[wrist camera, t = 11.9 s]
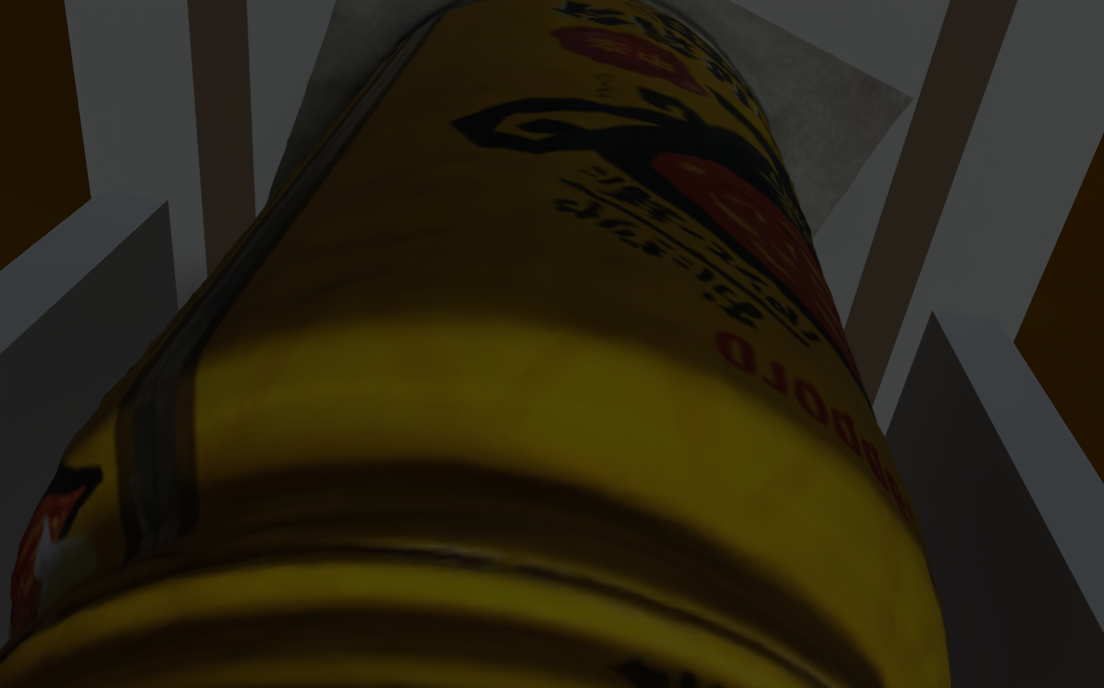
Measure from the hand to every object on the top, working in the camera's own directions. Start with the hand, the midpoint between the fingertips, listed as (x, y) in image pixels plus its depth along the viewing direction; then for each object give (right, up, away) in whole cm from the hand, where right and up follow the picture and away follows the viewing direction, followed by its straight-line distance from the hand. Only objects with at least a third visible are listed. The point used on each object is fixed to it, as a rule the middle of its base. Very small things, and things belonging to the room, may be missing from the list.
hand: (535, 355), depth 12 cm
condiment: (0, +2, +3) cm, 3 cm away
